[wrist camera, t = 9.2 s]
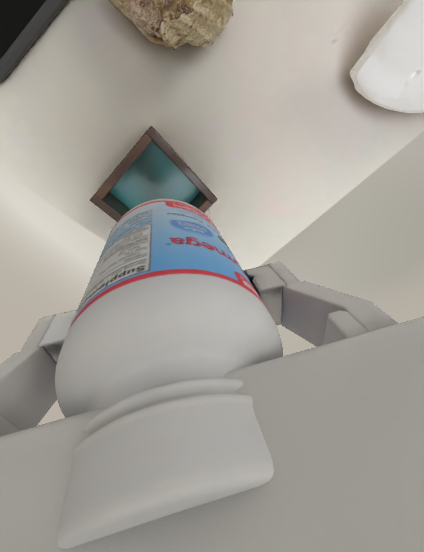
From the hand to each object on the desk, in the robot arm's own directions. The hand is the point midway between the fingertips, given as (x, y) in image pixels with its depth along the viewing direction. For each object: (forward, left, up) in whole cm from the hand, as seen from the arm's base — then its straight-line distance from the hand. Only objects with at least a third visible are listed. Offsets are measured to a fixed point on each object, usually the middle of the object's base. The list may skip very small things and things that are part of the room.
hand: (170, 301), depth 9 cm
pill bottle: (0, 0, -5) cm, 5 cm away
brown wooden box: (0, 0, -22) cm, 23 cm away
